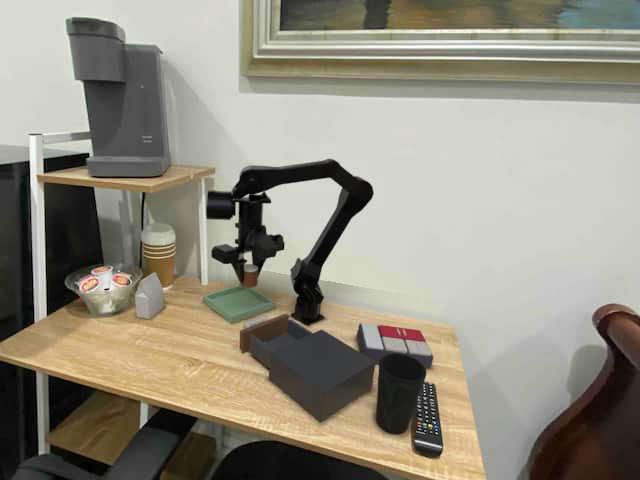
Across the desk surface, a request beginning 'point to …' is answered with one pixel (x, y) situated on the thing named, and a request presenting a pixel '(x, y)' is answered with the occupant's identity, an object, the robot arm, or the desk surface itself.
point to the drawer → (269, 336)
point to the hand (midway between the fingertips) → (248, 280)
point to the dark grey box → (321, 373)
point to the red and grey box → (393, 343)
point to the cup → (398, 391)
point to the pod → (250, 276)
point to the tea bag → (149, 297)
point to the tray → (238, 303)
